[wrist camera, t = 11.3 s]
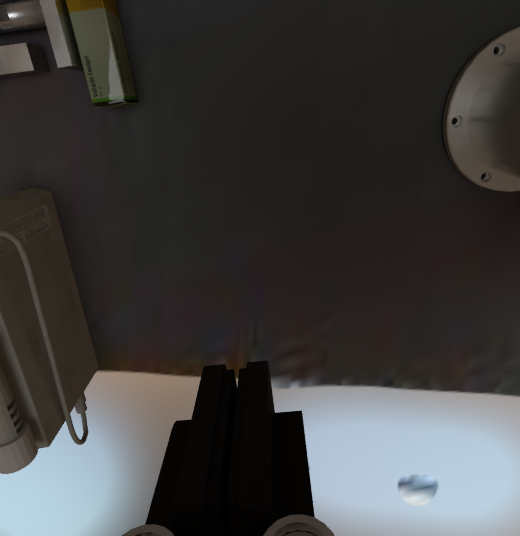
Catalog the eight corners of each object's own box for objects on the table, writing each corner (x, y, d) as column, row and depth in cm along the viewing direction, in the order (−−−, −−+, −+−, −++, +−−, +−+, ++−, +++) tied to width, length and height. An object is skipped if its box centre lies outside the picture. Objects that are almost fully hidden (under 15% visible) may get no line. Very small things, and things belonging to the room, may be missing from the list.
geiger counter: (-141, 239, 23) (-2, 528, 33) (-34, 233, 23) (74, 526, 32) (5, 189, 36) (74, 407, 45) (75, 184, 35) (129, 405, 45)
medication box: (141, 105, 33) (127, 105, 29) (109, 109, 33) (91, 110, 29) (101, -76, 28) (78, -102, 25) (64, -70, 29) (35, -96, 25)
